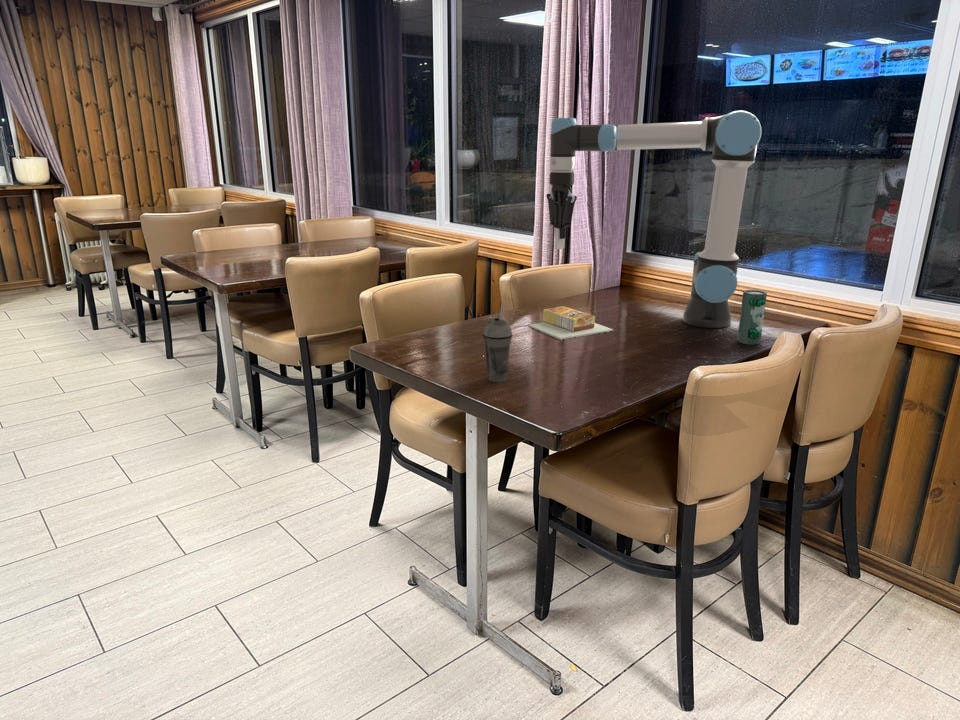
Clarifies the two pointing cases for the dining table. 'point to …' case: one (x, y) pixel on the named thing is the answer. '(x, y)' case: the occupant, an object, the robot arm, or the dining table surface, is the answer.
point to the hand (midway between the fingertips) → (559, 248)
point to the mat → (565, 333)
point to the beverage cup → (497, 347)
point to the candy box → (568, 318)
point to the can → (751, 316)
